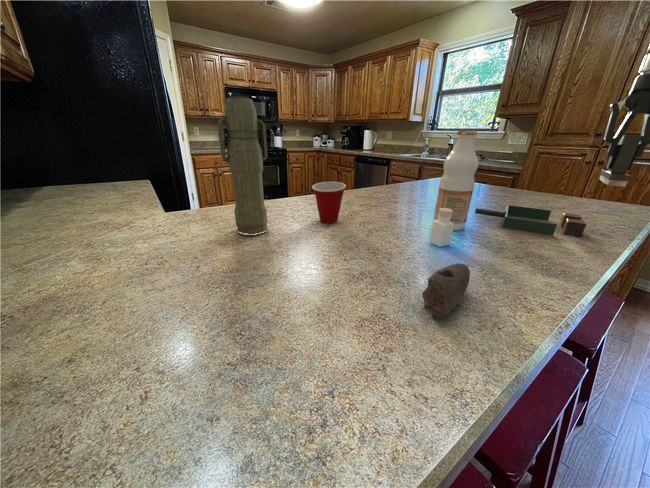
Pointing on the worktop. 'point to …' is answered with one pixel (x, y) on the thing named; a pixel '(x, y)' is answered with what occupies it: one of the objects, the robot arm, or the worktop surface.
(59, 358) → the worktop surface
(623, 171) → the brush
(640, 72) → the robot arm
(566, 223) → the crumb block
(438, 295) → the perforated stone tool
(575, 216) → the crumb block
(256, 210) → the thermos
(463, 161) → the fruit juice
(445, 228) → the pepper shaker
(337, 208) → the plastic cup
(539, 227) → the dustpan
